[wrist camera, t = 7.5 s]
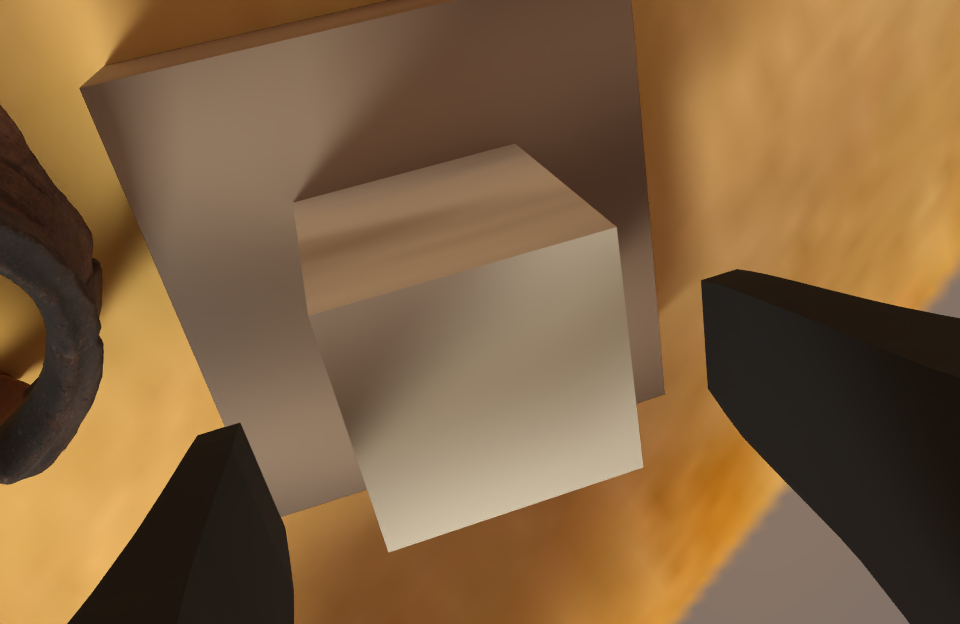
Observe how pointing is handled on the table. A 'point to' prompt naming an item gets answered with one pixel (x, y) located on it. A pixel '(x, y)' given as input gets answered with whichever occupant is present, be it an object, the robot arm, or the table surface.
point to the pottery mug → (46, 310)
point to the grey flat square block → (357, 178)
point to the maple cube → (471, 339)
